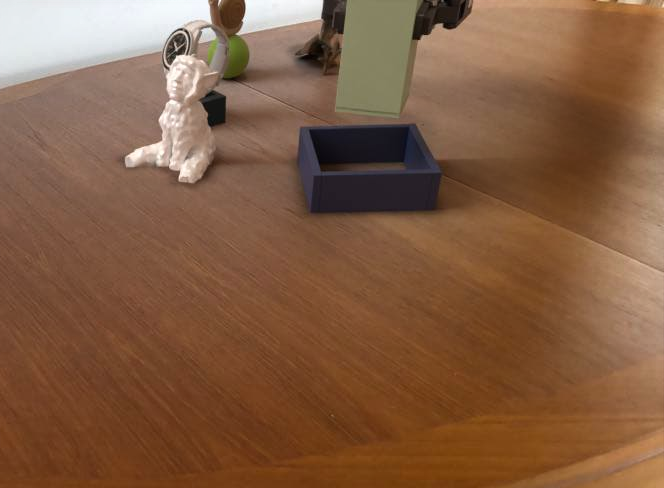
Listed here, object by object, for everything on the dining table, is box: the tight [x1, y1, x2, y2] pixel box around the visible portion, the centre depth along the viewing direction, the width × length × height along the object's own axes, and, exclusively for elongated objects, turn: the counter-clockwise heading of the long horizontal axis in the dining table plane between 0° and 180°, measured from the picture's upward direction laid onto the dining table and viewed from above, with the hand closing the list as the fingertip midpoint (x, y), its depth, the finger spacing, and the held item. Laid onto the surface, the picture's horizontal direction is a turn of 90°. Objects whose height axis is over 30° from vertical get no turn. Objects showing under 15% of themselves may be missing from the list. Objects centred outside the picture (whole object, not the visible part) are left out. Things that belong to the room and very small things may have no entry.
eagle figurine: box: [294, 19, 342, 76], centre depth 117 cm, size 8×7×9 cm
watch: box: [161, 19, 230, 128], centre depth 102 cm, size 6×8×11 cm
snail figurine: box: [207, 0, 250, 79], centre depth 113 cm, size 5×6×12 cm
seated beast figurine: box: [124, 55, 219, 184], centre depth 91 cm, size 10×9×12 cm
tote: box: [296, 123, 443, 214], centre depth 87 cm, size 12×12×5 cm
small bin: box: [334, 0, 424, 120], centre depth 79 cm, size 6×6×12 cm
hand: (379, 25), depth 76 cm, fingers closed on small bin, 5 cm apart
